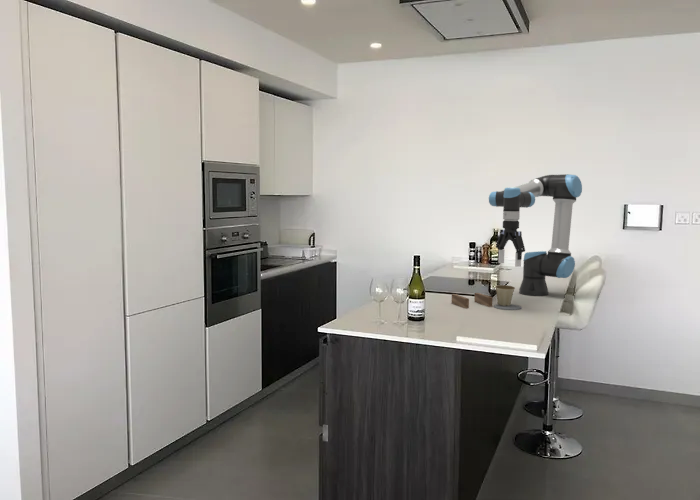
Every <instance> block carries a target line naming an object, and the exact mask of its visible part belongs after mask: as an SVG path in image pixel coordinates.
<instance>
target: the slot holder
mask: <svg viewBox="0 0 700 500" xmlns="http://www.w3.org/2000/svg"><path fill="white" fill-rule="evenodd" d="M473 301H474V303H476V304H480V305H482V306H486V307H487V308H488V307H491V308H493V296H490V295H486V294H483V293H480V292H475V293H474V298H473ZM451 304H453V305H455V306H458V307H461V308H463V309H469V307H470V298H469V297H466V296H463V295H459V294H456V293H451Z"/></svg>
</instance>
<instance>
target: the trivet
mask: <svg viewBox="0 0 700 500" xmlns="http://www.w3.org/2000/svg"><path fill="white" fill-rule="evenodd" d="M493 308H494V309H497V310H498V309H499V310H504V311H518V310H522V308H523V307H522V306H520V305H518V304H512V303H511V305H509V306H507V305H506V306H502V305H499V304H494V305H493Z"/></svg>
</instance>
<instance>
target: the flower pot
mask: <svg viewBox="0 0 700 500" xmlns="http://www.w3.org/2000/svg"><path fill="white" fill-rule="evenodd" d="M494 288H495V291H496V298H497V299H496V303H497V304H499V305H502V306H506V305H507V306H509V305H511V304H512V299H513V294H514V292H515V289H516V286H513V285H506V284H499V285H498V284H497V285H495V286H494Z"/></svg>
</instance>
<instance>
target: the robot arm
mask: <svg viewBox="0 0 700 500" xmlns="http://www.w3.org/2000/svg"><path fill="white" fill-rule="evenodd" d="M582 191H583V183H582V181H581V179H580V177H579V176H578V175H576V174H547V175H543V176H539V177H536V178H533V179H531V180H530V181H528V182H527V183H524V184H523V183H522V184H519V185H518V186H515V187H505V188H504V189H503V190H501V191H497V190H496V191H491V192H490V194H489V195H488V203H489V205H490V206H491V207H496V208H499V207H503V212H502V220H503V221H502V228H503V229H500V231H499V235H498V239H497V241H496V245H495V248H496V249H498V263H497V264H505V247H506V245H507V243H508V242H509V241H511V242H512V244H513V246H514V249H515V257H514V258H515V259H514V262H515V263H514V266H515V268H517V267H518V268H519V267H520V268H521V267H522V266H523V272H522V274H523V276H522V281H521V283H520V287H519V288H518V290H519V291H518V293H519V294H521V295H524V296H526V295H527V296H535V297H537V296H539V297H540V296H541V297H543V296H547V295H549V289H548V285H547V282H546V277H552V278H557V279H567V278H569V277H570V276H571V275H572V274H573V272H574V270H575V266H576V265H575V264H576V261H575V258H574V257H573V256H572V252H571V251H570V250H569V246H570V236H571V228H572V226H571V225H572V214H573V205H574V204H575V203H576V202H577V198H579V197H580V196H581V195H582V193H583V192H582ZM539 197H552V201H553V202H554V203H555V204H554V217H553V227H552V235H551V237H552V238H551V246H550V249H548V250H547V251H546V250H545V251H543V250H541V251H528V252H526V248H525V244H524V240H523V237H522V236H523V235H522V231H521V230H520V231H518V229H519V228H520V217H521V216H520V211H521V210H520V209H521V208H528V209H529V208H531V207H533V206H534V205H535V203H536V198H539ZM523 252H524V254H523ZM522 255H524V256H523V258H522ZM522 259H523V265H522Z"/></svg>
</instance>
